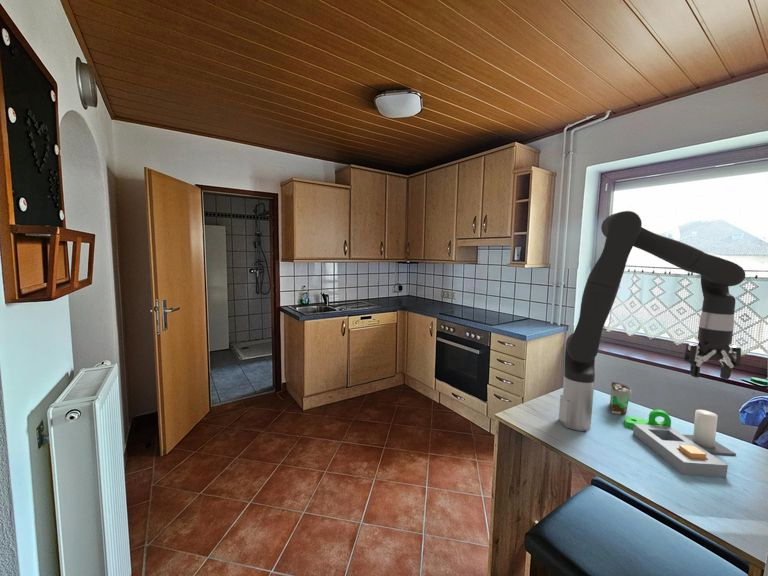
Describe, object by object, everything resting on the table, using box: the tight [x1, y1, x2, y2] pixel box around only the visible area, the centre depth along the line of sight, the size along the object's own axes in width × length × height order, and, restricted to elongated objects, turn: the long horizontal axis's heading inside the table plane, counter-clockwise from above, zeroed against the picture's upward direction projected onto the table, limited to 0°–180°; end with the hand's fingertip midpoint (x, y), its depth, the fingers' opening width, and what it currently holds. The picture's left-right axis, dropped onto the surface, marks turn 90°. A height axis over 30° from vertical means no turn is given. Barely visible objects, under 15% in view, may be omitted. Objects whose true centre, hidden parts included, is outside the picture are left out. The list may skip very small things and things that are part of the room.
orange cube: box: [679, 445, 706, 460], centre depth 94 cm, size 4×4×4 cm
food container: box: [609, 380, 633, 416], centre depth 127 cm, size 12×6×10 cm, turn 148°
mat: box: [682, 434, 737, 456], centre depth 105 cm, size 10×10×1 cm
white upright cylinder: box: [692, 409, 719, 448], centre depth 105 cm, size 5×5×10 cm
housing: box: [632, 424, 729, 478], centre depth 100 cm, size 11×21×4 cm, turn 174°
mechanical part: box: [624, 409, 672, 429], centre depth 115 cm, size 12×6×8 cm, turn 60°
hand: (709, 377), depth 103 cm, fingers open, 8 cm apart
